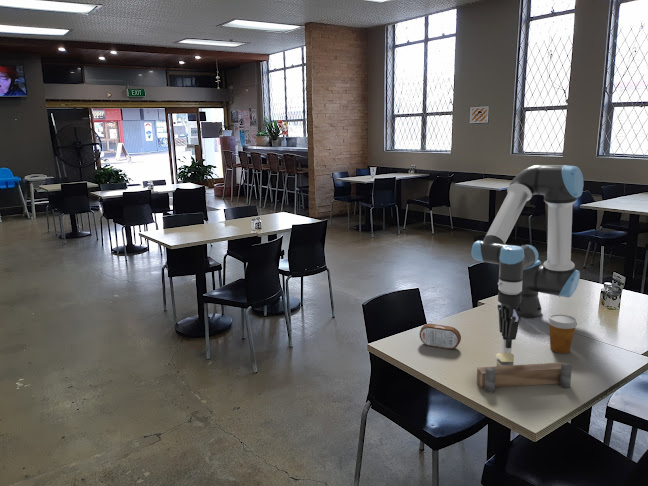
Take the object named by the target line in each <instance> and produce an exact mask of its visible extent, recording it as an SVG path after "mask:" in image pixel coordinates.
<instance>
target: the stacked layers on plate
mask: <svg viewBox="0 0 648 486" xmlns="http://www.w3.org/2000/svg"><path fill="white" fill-rule="evenodd" d="M495 356H496V357H495V361H496V362H495V364H494V366H511V365H515V364H514V361H515V355H514V354H513V353H512V352H511V353H508V352H506V353H502V352H500V353H499V352H498V353H495Z"/></svg>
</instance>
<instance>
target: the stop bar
mask: <svg viewBox="0 0 648 486" xmlns="http://www.w3.org/2000/svg"><path fill="white" fill-rule="evenodd" d="M572 368H573V365H572V364H571V363H569V362H561V361H560V362H550V363H549V362H548V363H547V362H546V363H530V364H529V363H528V364H513V365H511V366H495V365H494V366H483V367H481V366H480V367H479V366H478V367H477V368H476V383H477V384H478V386H479V387H480V389H484V392H486V393H490V394H493V393H495V392H496V388H505V387H507V388H509V387H525V386H539V385H550V384H551V385H554V384H556V385H557V384H558V385H559V387H561V388H564V389H569V388H570V387H571V381H572V371H573V370H572Z"/></svg>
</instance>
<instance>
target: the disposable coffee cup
mask: <svg viewBox="0 0 648 486" xmlns="http://www.w3.org/2000/svg"><path fill="white" fill-rule="evenodd" d="M547 322H548V326H549V327H548V329H549V331H548V332H549V341H550V343H549V345H550V350H551V351H553V352H555V353H558V354H569V353H570V351H571V349H572V348H571V347H572V342H573V338H574V335H575V331H576V330H575V329H576V327H577V326H578V322H577V320H576V317H574V316H572V315H567V314H562V313H561V314H560V313H555V314H551V315H549V317H548V319H547Z"/></svg>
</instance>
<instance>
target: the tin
mask: <svg viewBox="0 0 648 486" xmlns="http://www.w3.org/2000/svg"><path fill="white" fill-rule="evenodd" d="M418 336H419V339H420V341H421V342H422V343H423V344H424V345H426V346H427V347H431V348H433V347H434V348H439V349H445V350H454V349H456V348H457V347H458V346H459V344H460V343H461V341H462V336H461V333H460V331H459V330H458V329H457V328H456V327H453V326H449V325H442V324H436V323H426V324H424V325H422V326H421V328H420V331H419V335H418Z"/></svg>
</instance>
